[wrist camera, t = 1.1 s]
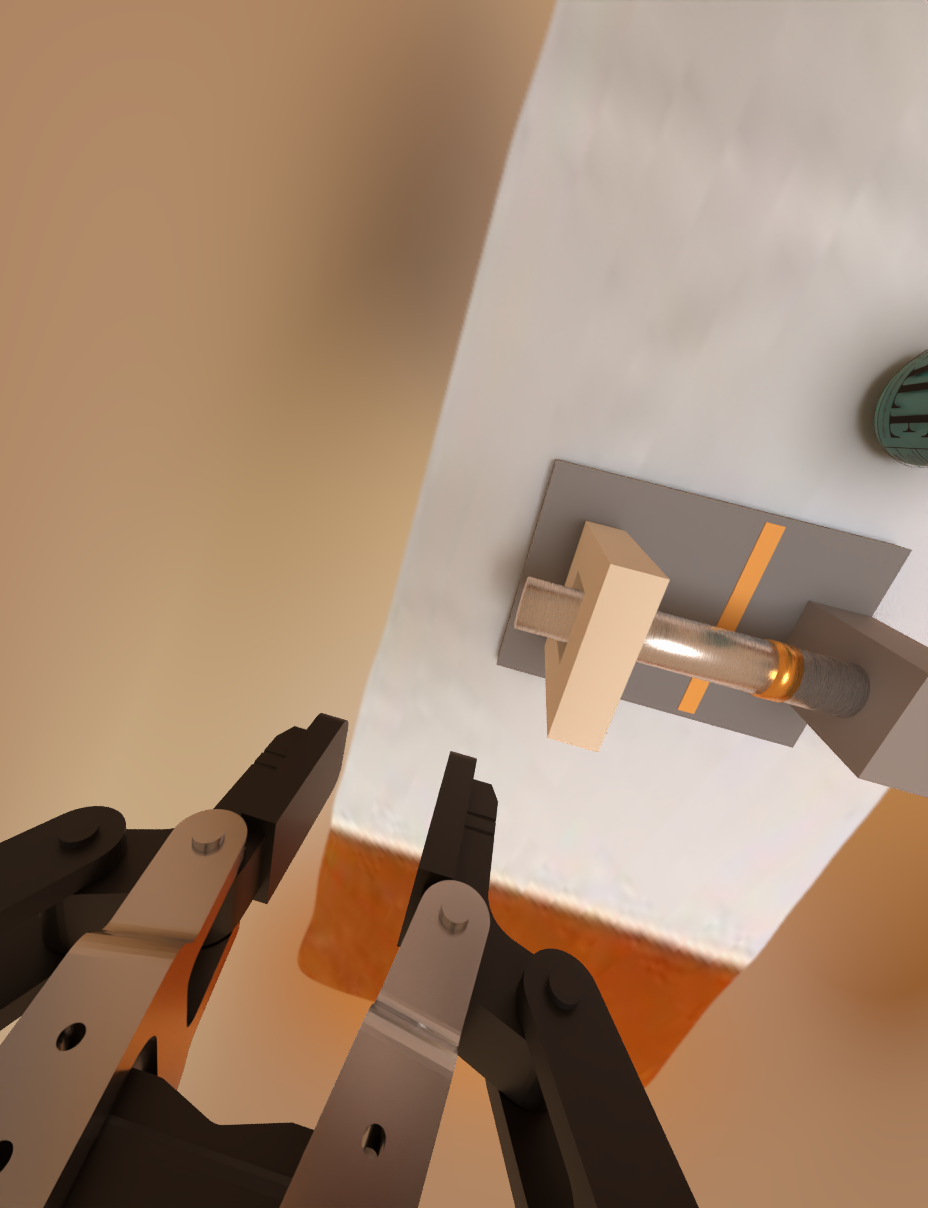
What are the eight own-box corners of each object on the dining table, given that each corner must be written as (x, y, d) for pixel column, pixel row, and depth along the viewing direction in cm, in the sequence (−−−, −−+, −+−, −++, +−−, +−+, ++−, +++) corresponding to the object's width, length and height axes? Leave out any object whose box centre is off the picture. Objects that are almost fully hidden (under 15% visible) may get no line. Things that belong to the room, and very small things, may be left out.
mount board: (555, 458, 31) (565, 471, 20) (894, 544, 30) (1094, 606, 19) (498, 655, 36) (481, 747, 26) (782, 735, 35) (890, 866, 24)
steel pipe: (529, 568, 27) (528, 584, 24) (861, 656, 26) (903, 685, 23) (514, 617, 28) (512, 639, 25) (832, 704, 27) (868, 737, 24)
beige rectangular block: (586, 520, 29) (610, 563, 20) (625, 530, 29) (669, 579, 19) (544, 646, 33) (547, 737, 23) (579, 655, 32) (597, 752, 23)
